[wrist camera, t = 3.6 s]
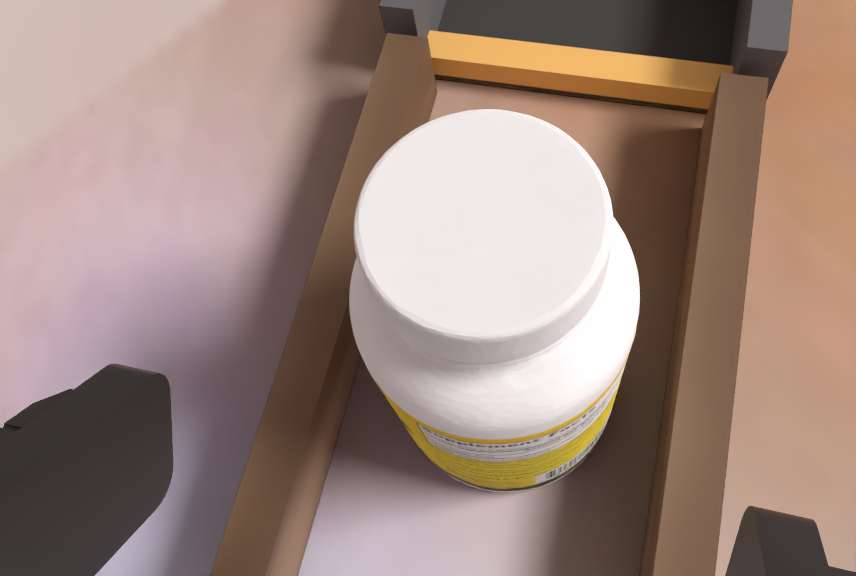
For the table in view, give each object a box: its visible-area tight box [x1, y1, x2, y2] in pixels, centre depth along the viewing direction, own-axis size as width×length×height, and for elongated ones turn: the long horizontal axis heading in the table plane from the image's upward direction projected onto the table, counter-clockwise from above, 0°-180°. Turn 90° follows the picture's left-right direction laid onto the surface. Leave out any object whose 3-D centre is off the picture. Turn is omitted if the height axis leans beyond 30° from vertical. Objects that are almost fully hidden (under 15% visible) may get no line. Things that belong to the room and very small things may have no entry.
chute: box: [210, 33, 769, 576], centre depth 20 cm, size 10×16×2 cm, turn 166°
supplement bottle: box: [349, 109, 640, 493], centre depth 17 cm, size 5×5×10 cm
